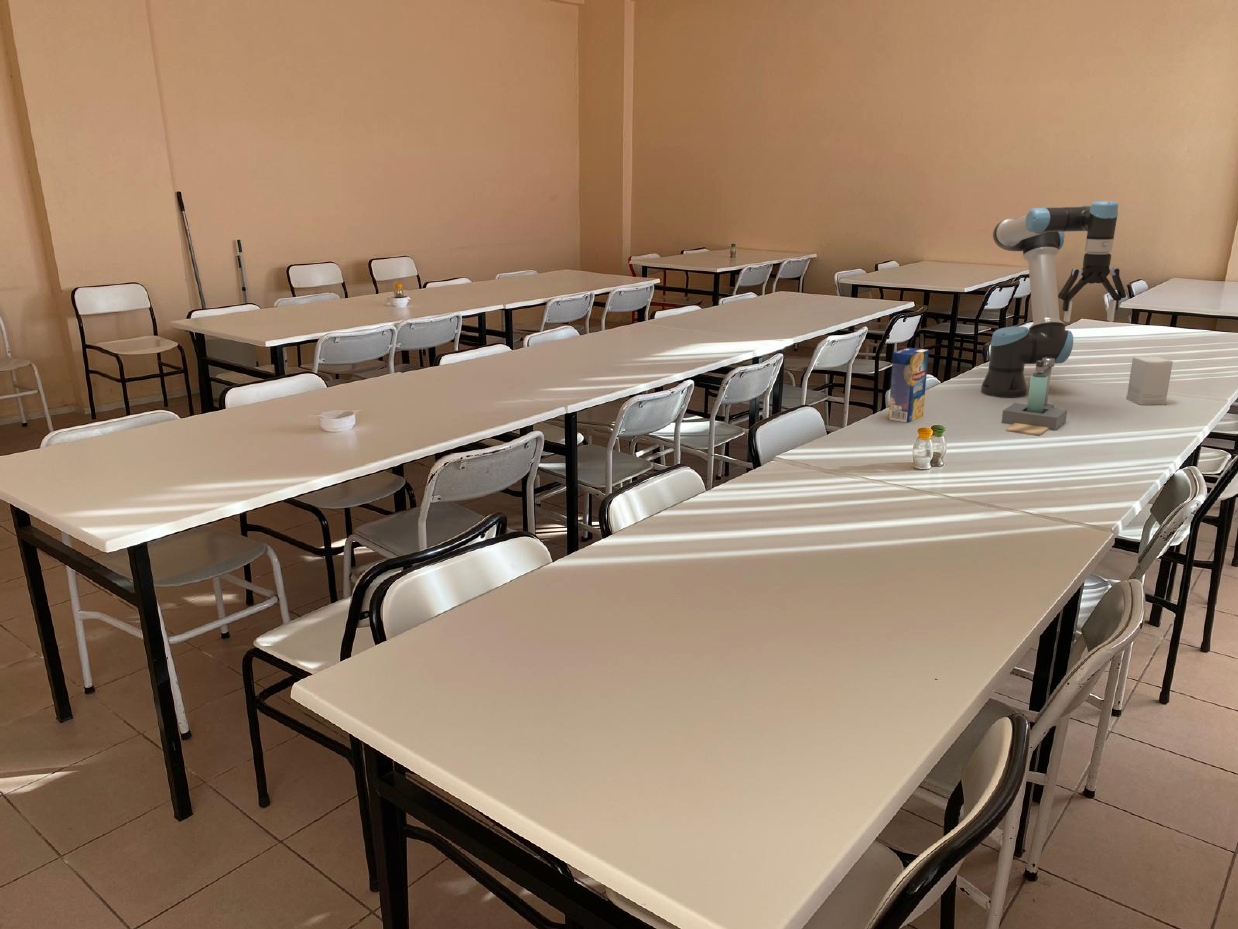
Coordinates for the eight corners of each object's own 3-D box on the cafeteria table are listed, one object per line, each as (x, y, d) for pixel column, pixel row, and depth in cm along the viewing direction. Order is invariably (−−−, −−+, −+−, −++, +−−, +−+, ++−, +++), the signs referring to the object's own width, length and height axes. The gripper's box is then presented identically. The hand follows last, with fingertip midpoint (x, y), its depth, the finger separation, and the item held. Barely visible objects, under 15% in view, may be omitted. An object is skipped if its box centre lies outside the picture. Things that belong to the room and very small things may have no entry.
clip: (1043, 364, 286) (1044, 354, 285) (1055, 365, 284) (1056, 355, 283) (1032, 371, 277) (1033, 361, 276) (1044, 372, 275) (1045, 362, 274)
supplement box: (1166, 404, 299) (1174, 361, 295) (1139, 405, 299) (1146, 361, 295) (1151, 398, 308) (1158, 355, 303) (1125, 399, 308) (1132, 356, 304)
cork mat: (1005, 430, 274) (1005, 429, 274) (1015, 423, 281) (1015, 421, 281) (1040, 436, 268) (1040, 434, 268) (1049, 428, 275) (1049, 426, 275)
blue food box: (923, 415, 293) (928, 349, 286) (907, 422, 285) (913, 355, 279) (903, 412, 298) (908, 347, 291) (888, 419, 290) (893, 352, 283)
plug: (1023, 422, 282) (1029, 373, 277) (1027, 419, 286) (1033, 371, 281) (1039, 425, 279) (1045, 375, 274) (1043, 421, 283) (1050, 373, 278)
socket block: (1001, 422, 283) (1007, 372, 278) (1017, 411, 295) (1023, 363, 290) (1055, 430, 273) (1062, 378, 268) (1069, 418, 285) (1076, 369, 280)
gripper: (1062, 254, 273) (1053, 323, 280) (1145, 253, 273) (1134, 322, 279) (1052, 252, 280) (1043, 319, 287) (1132, 250, 280) (1121, 318, 286)
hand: (1088, 321), depth 283 cm, fingers open, 13 cm apart
